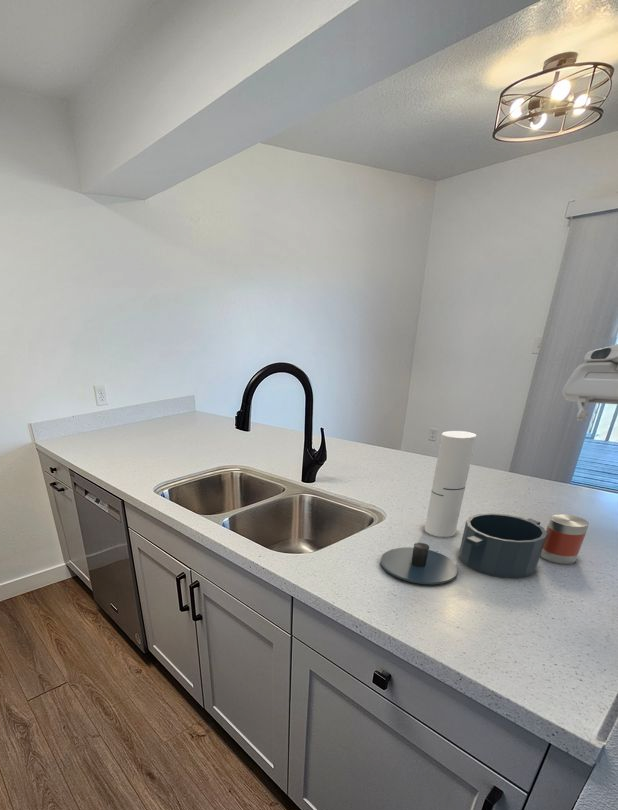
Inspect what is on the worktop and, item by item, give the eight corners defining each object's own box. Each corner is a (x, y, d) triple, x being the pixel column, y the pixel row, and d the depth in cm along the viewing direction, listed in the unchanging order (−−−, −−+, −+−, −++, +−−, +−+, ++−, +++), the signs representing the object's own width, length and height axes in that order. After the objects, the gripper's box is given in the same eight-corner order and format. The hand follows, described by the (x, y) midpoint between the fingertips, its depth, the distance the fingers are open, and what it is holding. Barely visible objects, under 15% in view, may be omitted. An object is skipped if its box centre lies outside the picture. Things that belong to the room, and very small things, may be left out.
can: (582, 559, 96) (596, 522, 92) (563, 567, 94) (576, 529, 90) (551, 547, 101) (562, 511, 97) (532, 554, 99) (543, 518, 95)
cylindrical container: (453, 539, 108) (475, 439, 97) (422, 533, 111) (440, 436, 100) (456, 528, 113) (477, 432, 102) (426, 523, 117) (443, 429, 105)
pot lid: (473, 575, 93) (479, 552, 90) (418, 594, 88) (423, 570, 85) (416, 545, 106) (420, 525, 103) (365, 561, 101) (368, 539, 98)
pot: (559, 564, 95) (571, 529, 91) (495, 588, 88) (505, 551, 84) (496, 538, 107) (504, 506, 103) (436, 557, 100) (442, 524, 96)
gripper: (711, 368, 84) (676, 434, 85) (583, 366, 100) (554, 423, 101) (711, 350, 80) (674, 421, 81) (578, 352, 95) (548, 411, 97)
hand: (607, 422), depth 91 cm, fingers open, 8 cm apart
